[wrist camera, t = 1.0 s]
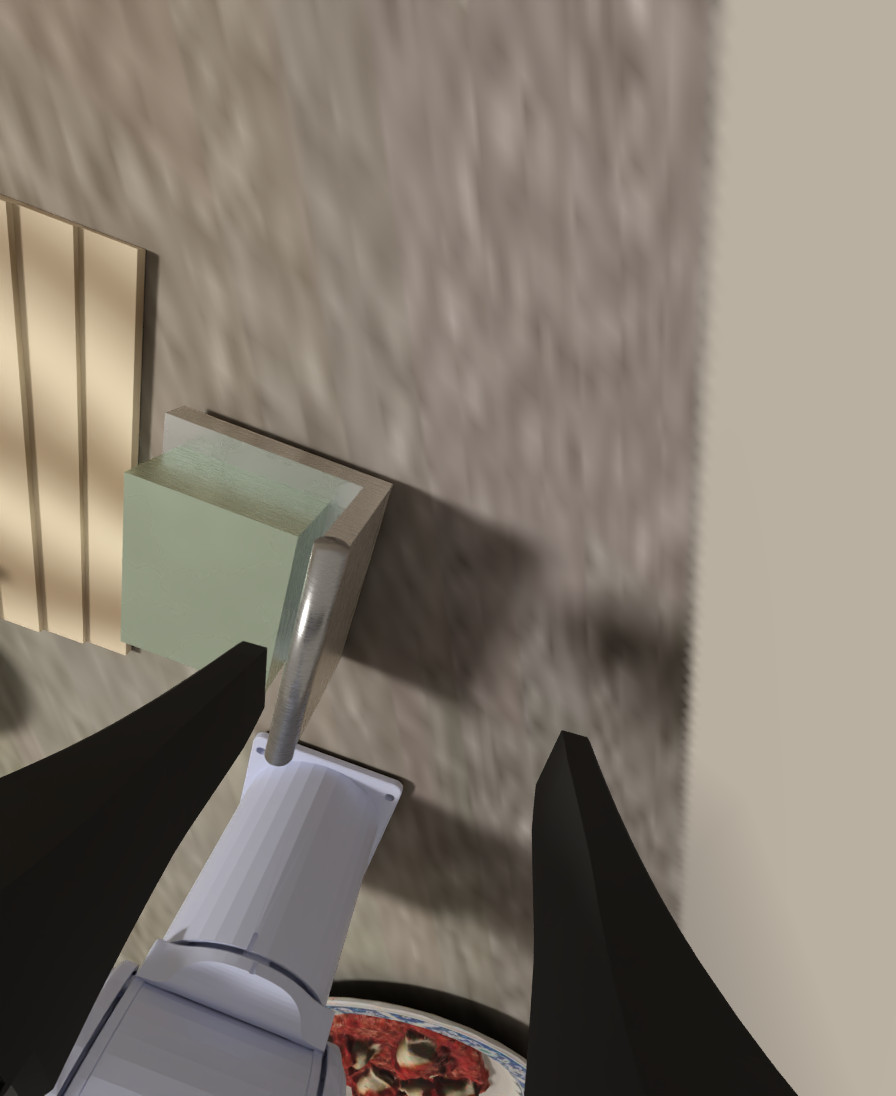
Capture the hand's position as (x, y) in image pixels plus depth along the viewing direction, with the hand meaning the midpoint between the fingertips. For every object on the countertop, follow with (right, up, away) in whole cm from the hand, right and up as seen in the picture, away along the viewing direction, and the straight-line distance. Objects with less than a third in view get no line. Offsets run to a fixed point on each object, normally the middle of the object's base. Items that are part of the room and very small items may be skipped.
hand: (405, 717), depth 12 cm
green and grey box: (-6, +4, +9) cm, 12 cm away
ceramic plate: (-3, -37, +30) cm, 48 cm away
